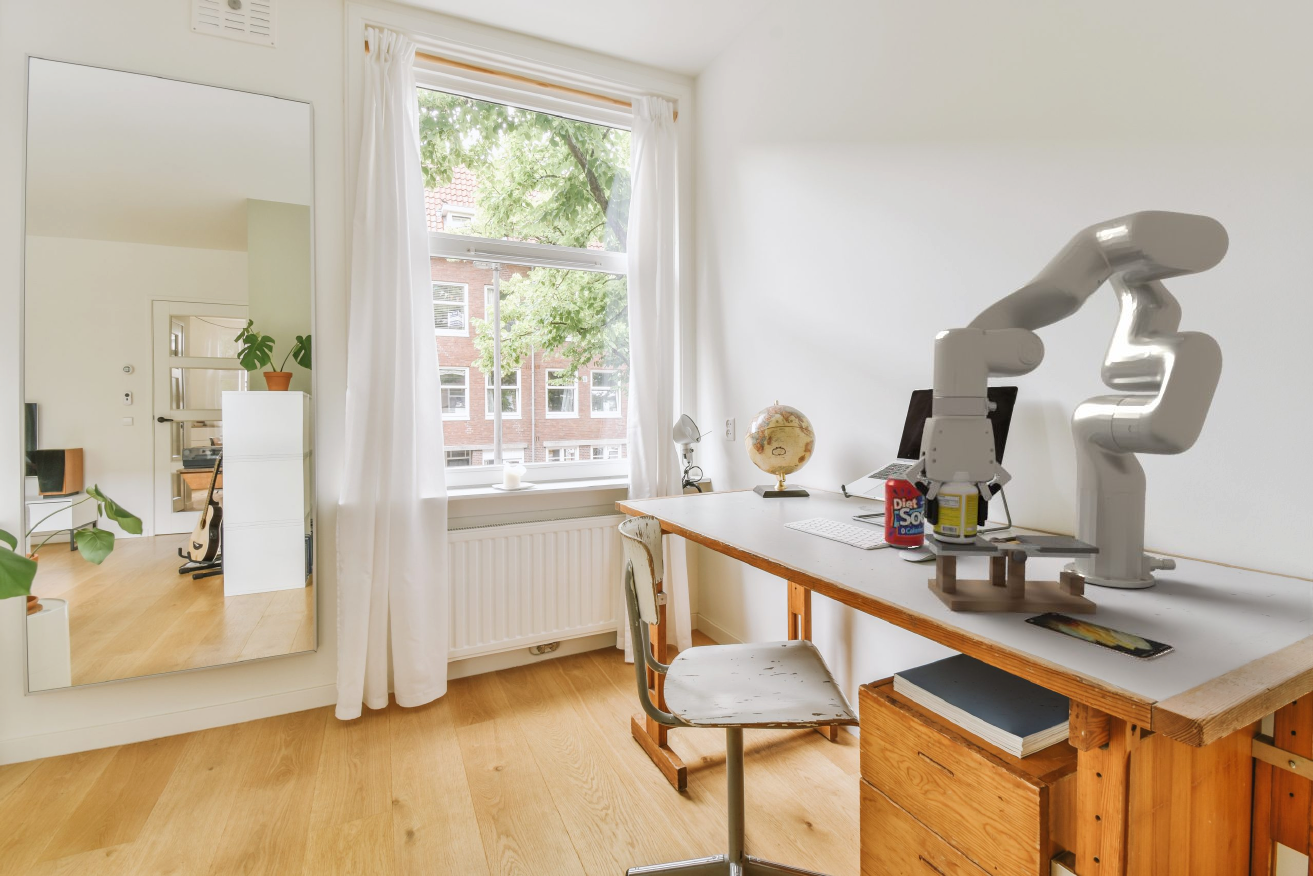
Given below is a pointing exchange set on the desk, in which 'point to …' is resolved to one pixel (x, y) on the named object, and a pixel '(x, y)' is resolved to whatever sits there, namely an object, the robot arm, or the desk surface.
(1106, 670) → the desk surface
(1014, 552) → the stand
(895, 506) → the soda can
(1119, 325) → the robot arm
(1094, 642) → the smartphone
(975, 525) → the pill bottle
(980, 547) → the beam
